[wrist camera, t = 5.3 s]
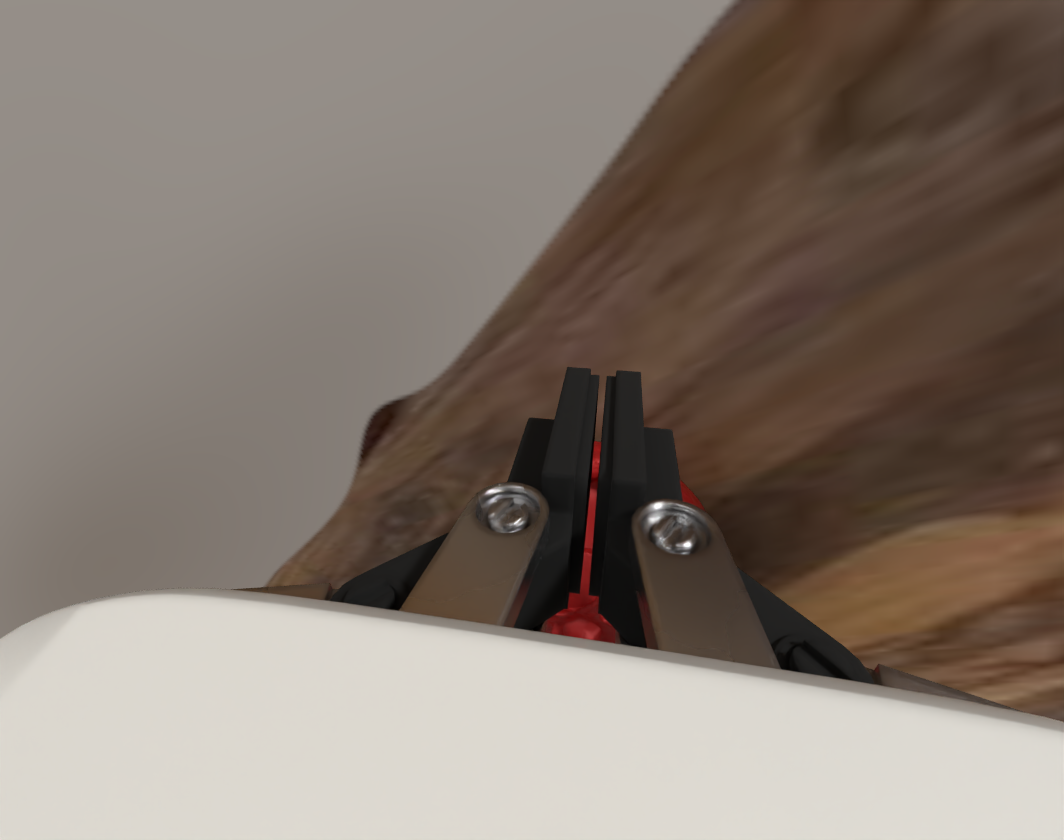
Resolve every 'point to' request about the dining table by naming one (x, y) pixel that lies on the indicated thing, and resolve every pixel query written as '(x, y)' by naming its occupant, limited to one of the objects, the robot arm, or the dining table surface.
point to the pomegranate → (584, 607)
